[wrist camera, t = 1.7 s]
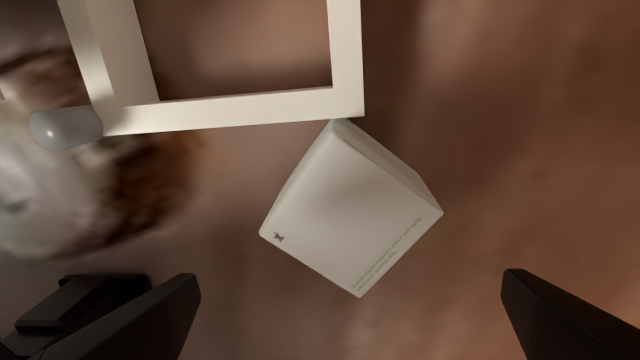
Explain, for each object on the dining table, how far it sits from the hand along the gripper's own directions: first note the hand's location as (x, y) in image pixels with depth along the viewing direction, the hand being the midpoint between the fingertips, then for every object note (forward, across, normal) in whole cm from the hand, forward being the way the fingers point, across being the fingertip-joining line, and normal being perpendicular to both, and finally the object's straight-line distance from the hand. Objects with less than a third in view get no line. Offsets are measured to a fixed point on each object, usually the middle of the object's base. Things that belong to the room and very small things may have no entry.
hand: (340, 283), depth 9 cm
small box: (+9, 0, 0) cm, 9 cm away
